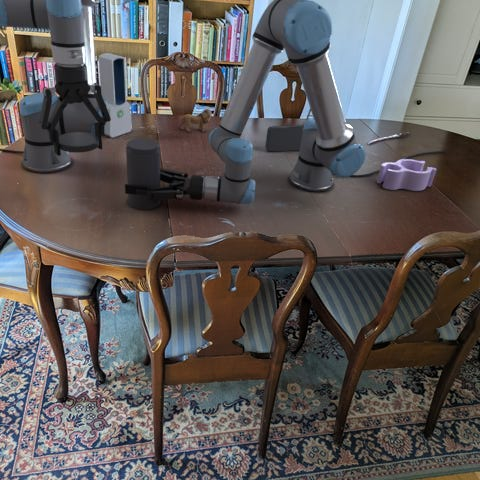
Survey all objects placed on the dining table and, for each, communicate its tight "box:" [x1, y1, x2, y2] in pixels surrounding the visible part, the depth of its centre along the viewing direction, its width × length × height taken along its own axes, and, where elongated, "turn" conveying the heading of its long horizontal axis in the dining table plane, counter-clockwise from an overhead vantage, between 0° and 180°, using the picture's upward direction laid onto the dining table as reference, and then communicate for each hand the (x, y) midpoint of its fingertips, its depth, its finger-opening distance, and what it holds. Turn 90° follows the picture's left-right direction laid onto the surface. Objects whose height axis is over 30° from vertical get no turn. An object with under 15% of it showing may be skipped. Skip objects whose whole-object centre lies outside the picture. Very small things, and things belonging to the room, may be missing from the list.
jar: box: [125, 137, 161, 211], centre depth 139 cm, size 10×10×19 cm
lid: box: [59, 132, 99, 154], centre depth 123 cm, size 11×11×2 cm
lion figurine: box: [177, 108, 213, 133], centre depth 197 cm, size 15×5×9 cm, turn 110°
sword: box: [367, 133, 409, 145], centre depth 213 cm, size 31×3×1 cm, turn 126°
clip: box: [376, 158, 437, 192], centre depth 171 cm, size 20×12×7 cm, turn 109°
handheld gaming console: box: [264, 124, 304, 152], centre depth 189 cm, size 23×3×10 cm, turn 108°
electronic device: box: [98, 52, 133, 139], centre depth 181 cm, size 12×8×30 cm, turn 148°
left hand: (78, 150), depth 124 cm, fingers closed on lid, 10 cm apart
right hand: (129, 181), depth 140 cm, fingers closed on jar, 10 cm apart
